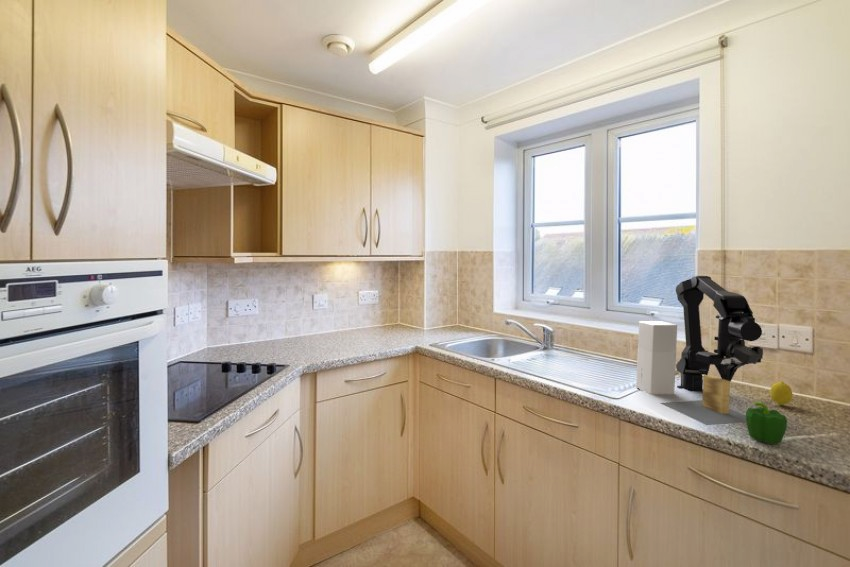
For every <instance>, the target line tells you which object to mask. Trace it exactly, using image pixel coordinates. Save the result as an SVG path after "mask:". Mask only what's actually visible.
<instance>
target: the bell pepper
mask: <svg viewBox="0 0 850 567" xmlns="http://www.w3.org/2000/svg"><path fill="white" fill-rule="evenodd" d="M753 404H754V406H755V408H753V407H752V408H751V407H749V408H748V407H747V410H746V411H745V415H746V422H745V423H746V427H747V431H748V435H749V436H750V438H752V439H753V440H754V441H758V442H764V443H767V444H770V445H778V444H780V443H781V442H782V440H783V439H784V436H785V433H786V430H787V426H788V420H787V417H786V416H785V415H784V414H781V413H780V412H779V411H778V410H777V409H769V408H768V406H767V405H766V404H765V403H763V402H759V401H755V402H753Z"/></svg>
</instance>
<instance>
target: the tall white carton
mask: <svg viewBox="0 0 850 567" xmlns="http://www.w3.org/2000/svg"><path fill="white" fill-rule="evenodd" d="M677 338H678V325H677V324H675V323H672V322H667V321H662V320H647V321H646V320H639V321H638V338H637V339H638V340H637V356H636V357H637V360H636V362H637V363H636V381H635V382H636V383H635V386H636V387H637V388H639V389H640V390H639V389H638V390H639V391H641V392H646V393H648V394H649V395H675V390H676V388H675V386H676V385H675V383H676V370H677V369H676V365H677V345H678V344H677V342H678V341H677V340H678V339H677ZM636 387H635V388H636ZM637 388H636V389H637Z"/></svg>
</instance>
